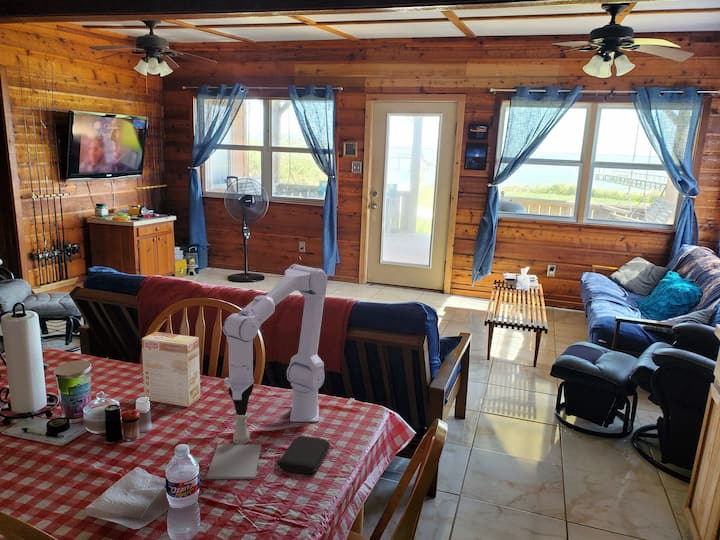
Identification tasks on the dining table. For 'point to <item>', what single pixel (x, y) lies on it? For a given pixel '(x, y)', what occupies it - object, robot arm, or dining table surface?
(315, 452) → the carrying case or bag
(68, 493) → the dining table surface
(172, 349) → the coffeecake box
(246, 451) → the slate mat
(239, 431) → the rook chess piece
